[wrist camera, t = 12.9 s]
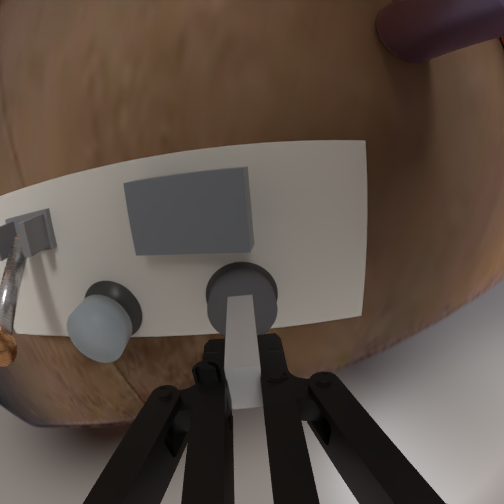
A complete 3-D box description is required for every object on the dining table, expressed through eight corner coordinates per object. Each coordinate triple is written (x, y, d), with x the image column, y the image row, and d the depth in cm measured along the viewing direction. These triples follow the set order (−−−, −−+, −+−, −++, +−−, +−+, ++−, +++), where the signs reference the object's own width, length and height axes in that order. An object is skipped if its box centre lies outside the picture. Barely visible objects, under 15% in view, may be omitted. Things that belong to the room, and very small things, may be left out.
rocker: (135, 180, 17) (123, 183, 15) (247, 166, 15) (242, 167, 14) (146, 247, 18) (136, 255, 17) (254, 244, 17) (250, 252, 15)
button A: (205, 270, 19) (202, 283, 17) (272, 264, 19) (275, 276, 17) (214, 326, 21) (212, 342, 19) (275, 320, 21) (278, 336, 19)
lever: (4, 228, 16) (-24, 358, 11) (25, 223, 16) (-4, 363, 11) (22, 246, 18) (1, 368, 13) (44, 242, 18) (22, 372, 13)
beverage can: (413, 77, 19) (546, 45, 5) (361, 31, 18) (471, -49, 3) (435, 41, 18) (549, 5, 3) (389, -1, 16) (486, -70, 2)
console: (3, 196, 20) (-45, 212, 14) (344, 141, 21) (386, 139, 14) (35, 314, 25) (1, 349, 18) (345, 293, 25) (376, 337, 18)
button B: (71, 295, 18) (58, 309, 16) (122, 292, 18) (112, 307, 16) (90, 345, 19) (80, 361, 17) (139, 346, 19) (131, 363, 17)
